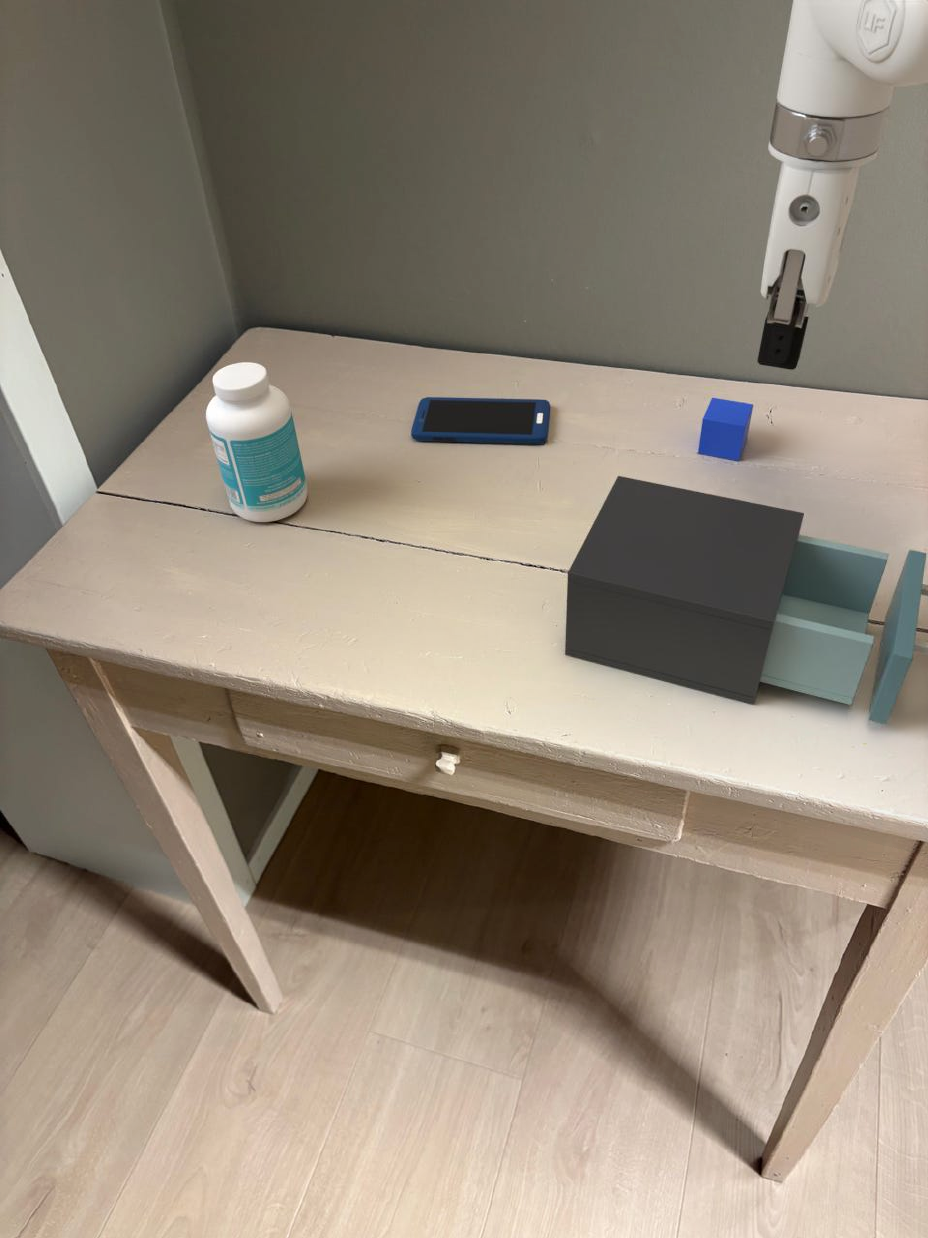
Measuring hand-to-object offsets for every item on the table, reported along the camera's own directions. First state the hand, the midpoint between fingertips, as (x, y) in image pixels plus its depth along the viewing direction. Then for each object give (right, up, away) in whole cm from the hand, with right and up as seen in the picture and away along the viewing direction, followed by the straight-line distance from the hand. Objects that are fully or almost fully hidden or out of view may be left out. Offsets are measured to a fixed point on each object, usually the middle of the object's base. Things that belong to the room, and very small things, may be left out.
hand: (777, 362), depth 81 cm
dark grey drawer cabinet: (-9, -22, -4) cm, 24 cm away
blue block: (-1, -5, +14) cm, 15 cm away
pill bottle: (-45, -11, +11) cm, 47 cm away
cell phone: (-25, -1, +19) cm, 31 cm away
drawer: (+2, -24, -8) cm, 26 cm away
